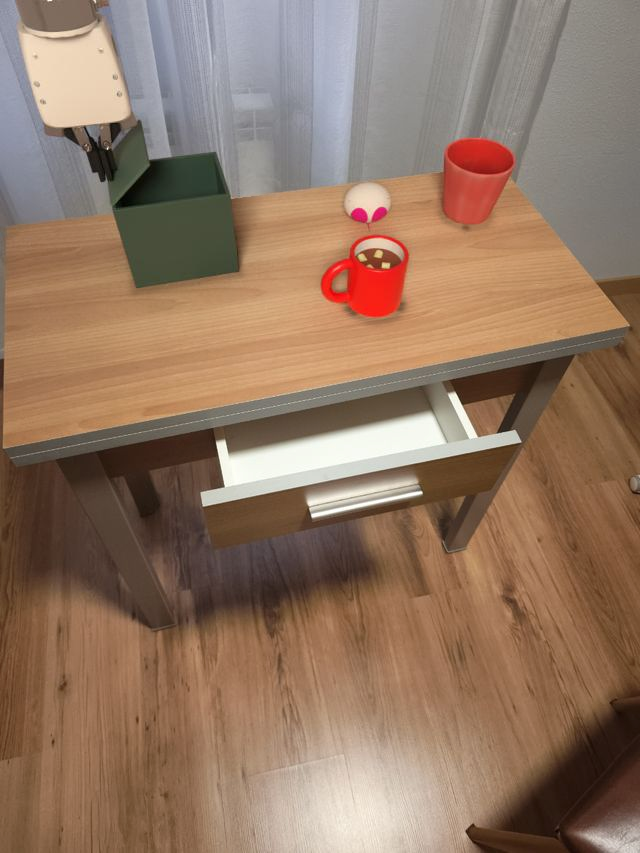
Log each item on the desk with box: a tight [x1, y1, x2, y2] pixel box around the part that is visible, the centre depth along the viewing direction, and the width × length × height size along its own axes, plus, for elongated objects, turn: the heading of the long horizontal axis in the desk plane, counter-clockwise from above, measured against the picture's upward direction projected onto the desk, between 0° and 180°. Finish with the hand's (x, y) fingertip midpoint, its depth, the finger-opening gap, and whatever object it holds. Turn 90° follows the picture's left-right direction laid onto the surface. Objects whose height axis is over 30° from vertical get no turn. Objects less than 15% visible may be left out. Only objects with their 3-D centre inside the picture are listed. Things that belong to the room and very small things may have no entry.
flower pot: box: [442, 136, 516, 226], centre depth 91 cm, size 11×11×10 cm
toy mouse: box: [343, 181, 392, 232], centre depth 91 cm, size 8×8×7 cm
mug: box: [320, 234, 410, 318], centre depth 78 cm, size 8×12×8 cm, turn 110°
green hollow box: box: [111, 151, 240, 289], centre depth 81 cm, size 15×11×12 cm
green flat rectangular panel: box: [106, 119, 150, 207], centre depth 72 cm, size 7×11×1 cm
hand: (106, 175), depth 73 cm, fingers closed
